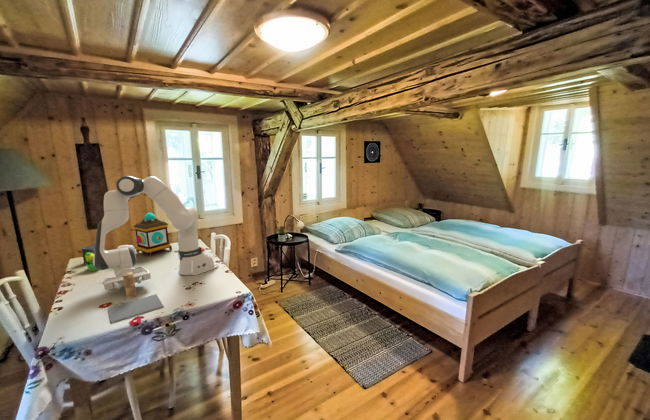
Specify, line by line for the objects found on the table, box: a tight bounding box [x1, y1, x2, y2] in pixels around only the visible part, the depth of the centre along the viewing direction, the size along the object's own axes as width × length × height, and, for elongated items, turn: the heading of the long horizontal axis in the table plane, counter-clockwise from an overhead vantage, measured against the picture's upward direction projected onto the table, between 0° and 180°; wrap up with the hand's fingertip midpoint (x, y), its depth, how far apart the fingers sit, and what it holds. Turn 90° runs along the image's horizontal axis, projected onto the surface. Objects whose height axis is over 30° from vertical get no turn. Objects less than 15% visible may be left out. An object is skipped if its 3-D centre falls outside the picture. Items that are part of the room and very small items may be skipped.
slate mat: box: [107, 293, 164, 324], centre depth 135 cm, size 20×16×1 cm
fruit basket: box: [85, 252, 100, 272], centre depth 185 cm, size 11×9×11 cm
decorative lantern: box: [132, 212, 173, 258], centre depth 213 cm, size 20×20×30 cm
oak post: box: [123, 272, 137, 299], centre depth 146 cm, size 4×4×12 cm
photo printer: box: [116, 244, 138, 262], centre depth 194 cm, size 10×4×12 cm, turn 96°
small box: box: [81, 244, 95, 264], centre depth 198 cm, size 11×6×10 cm, turn 168°
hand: (129, 284), depth 145 cm, fingers open, 7 cm apart
